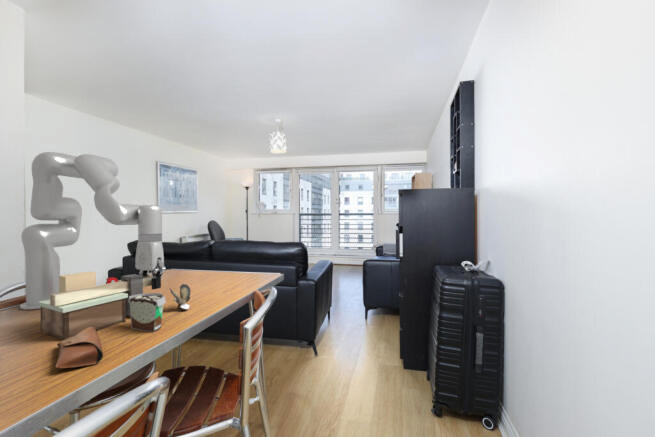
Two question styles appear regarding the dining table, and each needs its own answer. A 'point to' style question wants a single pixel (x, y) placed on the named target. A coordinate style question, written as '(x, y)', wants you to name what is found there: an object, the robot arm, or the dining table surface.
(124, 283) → the cream wooden bar
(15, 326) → the dining table surface
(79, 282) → the lid
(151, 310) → the food container
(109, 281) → the tracker holder
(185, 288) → the eagle figurine
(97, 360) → the sunglasses case
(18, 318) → the dining table surface
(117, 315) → the toolbox
